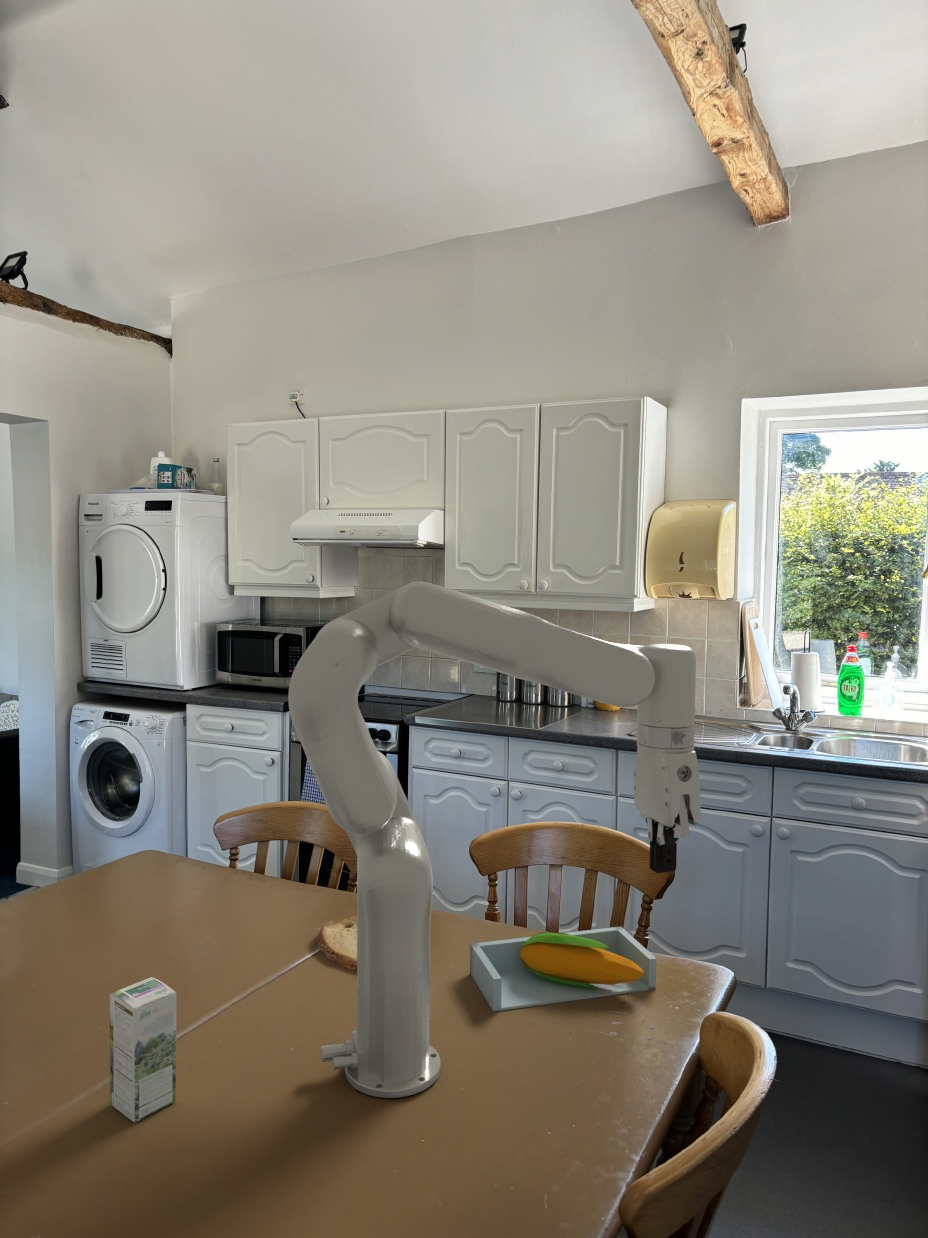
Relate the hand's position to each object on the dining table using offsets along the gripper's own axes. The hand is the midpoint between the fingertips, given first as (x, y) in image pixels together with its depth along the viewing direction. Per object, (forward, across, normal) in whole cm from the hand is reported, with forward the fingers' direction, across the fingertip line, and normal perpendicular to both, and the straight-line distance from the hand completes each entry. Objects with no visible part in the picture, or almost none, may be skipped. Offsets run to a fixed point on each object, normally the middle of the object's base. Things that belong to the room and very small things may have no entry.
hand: (662, 870), depth 117 cm
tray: (+26, +23, +4) cm, 35 cm away
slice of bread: (+26, +43, +32) cm, 60 cm away
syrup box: (+26, +9, +67) cm, 72 cm away
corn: (+26, +21, +2) cm, 33 cm away
